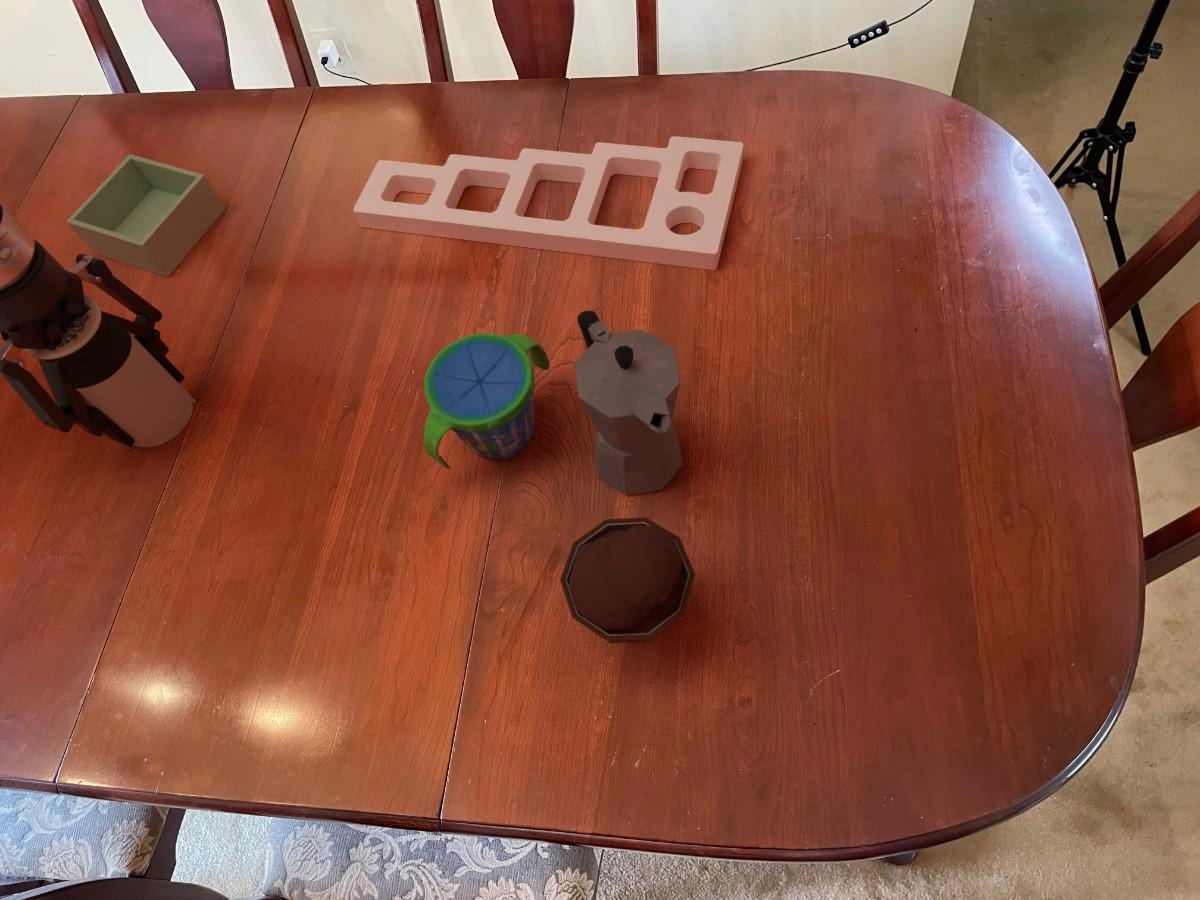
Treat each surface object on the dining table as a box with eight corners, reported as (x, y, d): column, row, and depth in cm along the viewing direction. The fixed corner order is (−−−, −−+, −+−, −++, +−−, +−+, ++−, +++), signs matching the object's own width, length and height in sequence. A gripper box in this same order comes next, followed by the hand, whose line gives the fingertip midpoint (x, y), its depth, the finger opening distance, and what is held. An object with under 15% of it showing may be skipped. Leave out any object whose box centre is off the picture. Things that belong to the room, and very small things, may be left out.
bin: (94, 253, 109) (65, 221, 104) (154, 187, 114) (129, 153, 109) (168, 277, 105) (141, 245, 100) (226, 208, 110) (204, 174, 106)
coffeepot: (712, 484, 83) (714, 382, 68) (629, 529, 82) (611, 435, 66) (636, 375, 91) (622, 260, 75) (558, 414, 89) (527, 305, 74)
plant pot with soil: (667, 542, 81) (661, 468, 68) (712, 650, 75) (713, 592, 62) (562, 579, 80) (535, 512, 67) (599, 691, 75) (577, 641, 62)
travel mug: (213, 401, 95) (118, 298, 79) (177, 462, 92) (69, 366, 76) (155, 387, 97) (50, 284, 81) (117, 446, 93) (-1, 350, 78)
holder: (359, 226, 106) (352, 211, 104) (409, 128, 114) (403, 111, 112) (716, 270, 97) (716, 254, 94) (743, 159, 105) (744, 142, 102)
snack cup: (474, 511, 85) (447, 462, 76) (412, 448, 89) (380, 395, 80) (587, 414, 89) (575, 357, 80) (523, 358, 93) (504, 299, 85)
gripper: (-63, 373, 66) (113, 500, 86) (108, 190, 75) (232, 343, 95) (-127, 347, 68) (59, 477, 88) (47, 171, 77) (181, 325, 97)
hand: (148, 408), depth 91 cm, fingers closed on travel mug, 8 cm apart
